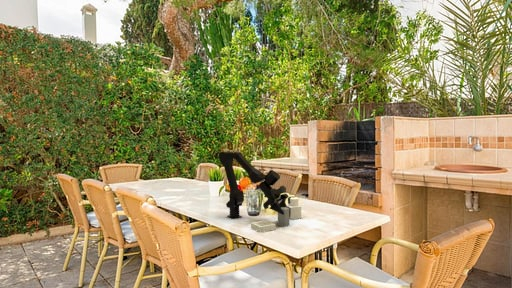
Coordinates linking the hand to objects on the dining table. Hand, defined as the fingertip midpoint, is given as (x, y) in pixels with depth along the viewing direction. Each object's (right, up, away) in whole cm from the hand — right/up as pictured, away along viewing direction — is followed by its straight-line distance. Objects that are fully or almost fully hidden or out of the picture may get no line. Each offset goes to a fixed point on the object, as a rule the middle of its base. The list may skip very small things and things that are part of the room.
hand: (285, 213), depth 186 cm
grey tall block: (-1, -7, +1) cm, 7 cm away
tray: (-12, -7, -6) cm, 15 cm away
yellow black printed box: (+6, -6, +17) cm, 19 cm away
